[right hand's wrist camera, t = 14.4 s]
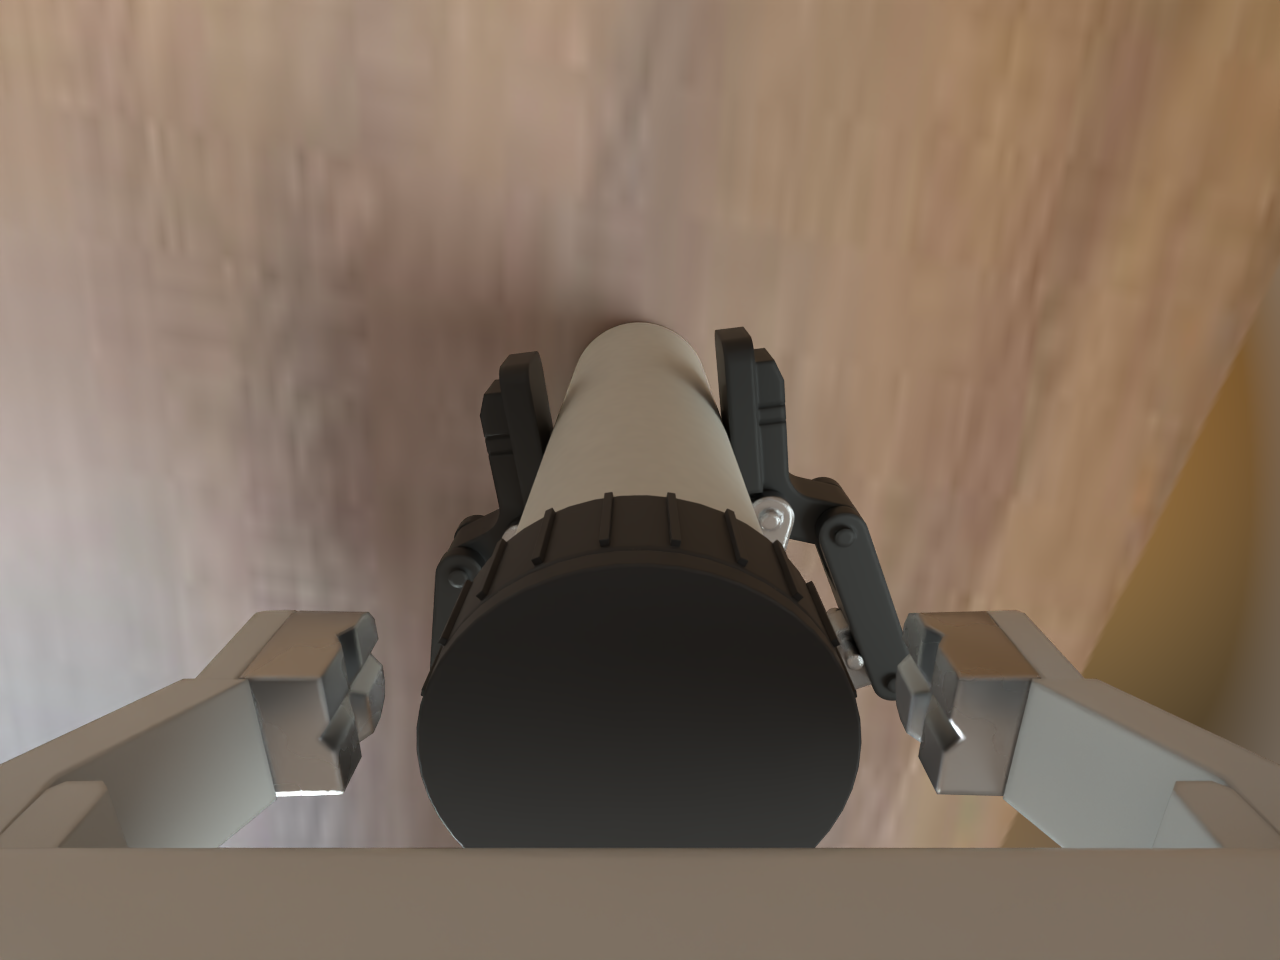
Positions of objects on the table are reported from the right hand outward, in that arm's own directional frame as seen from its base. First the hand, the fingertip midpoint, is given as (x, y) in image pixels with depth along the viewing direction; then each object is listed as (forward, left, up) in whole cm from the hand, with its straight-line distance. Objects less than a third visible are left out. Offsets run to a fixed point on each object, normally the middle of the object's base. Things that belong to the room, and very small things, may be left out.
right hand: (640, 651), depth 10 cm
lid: (0, 0, +2) cm, 2 cm away
